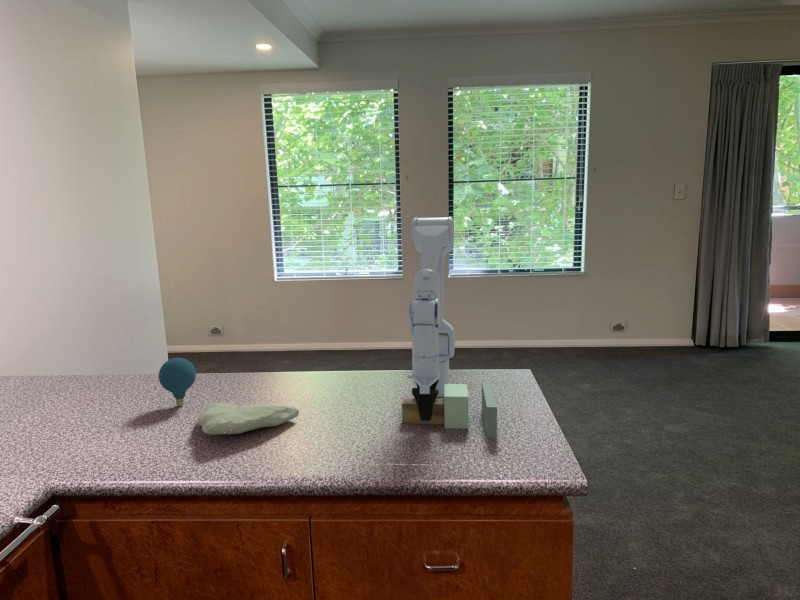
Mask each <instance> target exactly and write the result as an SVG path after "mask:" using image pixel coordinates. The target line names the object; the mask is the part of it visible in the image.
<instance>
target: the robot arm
mask: <svg viewBox="0 0 800 600" xmlns="http://www.w3.org/2000/svg"><path fill="white" fill-rule="evenodd" d="M454 222H455V221H454V219H453V217H452V216H448V217H414V218H413V219H412V222H411V238H412V242H413V245H414V247H415V250H416V252H417V253H420V270H419V271H418V272H417V273H416V274H415V275H414V284H413V293H412V301H410V302H409V305H408V321H409V327H410V328H409V330H410V333H409V334H410V335H411V351H412V352H411V354H412V355H411V356H412V357H411V358H412V360H411V361H412V364H411V366H412V372H407V379H412V380H413V381H414V383H415V385H416V387H412V388H411V393H412V397H413V398H415V400H416V403H417V406H418V410H419V415H420V419H421V421H431V417H432V411H433V405H434V402H435V399H436V398H444V384H451V383H450V358H453V357H454V355H455V346H456V345H455V344H456V343H455V341H456V340H455V333H454V332H455V329H454V326H453V325H451V324H450V323H449V322H448V321H446V320H445V319H444V262H445V259H446V255H447V254H449V253H450V252H452V251H453V248H454V242H455V241H454V236H455V229H454V228H455V225H454Z"/></svg>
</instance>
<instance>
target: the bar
mask: <svg viewBox="0 0 800 600" xmlns="http://www.w3.org/2000/svg"><path fill="white" fill-rule="evenodd" d="M401 412H402V413H401V417H402V421H401V422H402V424H403V425H445V411H444V397H436V399H435V402H434V405H433V411H432V417H431V421H421V419H420V415H419V410H418V406H417V403H416V400H415V398H414V397H403V399H402V403H401Z"/></svg>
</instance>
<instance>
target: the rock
mask: <svg viewBox="0 0 800 600" xmlns="http://www.w3.org/2000/svg"><path fill="white" fill-rule="evenodd" d="M299 414H300V411H299V409H297V408H296V407H295V406H287V405H270V404H269V405H267V404H261V403H255V404H246V405H236V404H231V403H226V402H215V403H212V404H209V405H207V406H206V407H205V408H204V409H203V411H202V412H201V413H200V415H199V416H198V417H197V421H198V422H197V424H198V425H199V426H200V427H201V430H202V432H204V433H205V434H207V435H227V436H231V435H237V434H243V433H245V432H249V431H253V430H256V429H261V428H271V427H272V428H273V427H277V426H281V425H283V424H285V423H286V422H289V421H291V420H293V419H295V418H297V417H298V416H299ZM231 430H232V431H231ZM224 432H225V433H224Z"/></svg>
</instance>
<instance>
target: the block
mask: <svg viewBox="0 0 800 600" xmlns="http://www.w3.org/2000/svg"><path fill="white" fill-rule="evenodd" d="M468 391H469V390H468V384H466V383H464V384H463V383H450V384H444V397H443V398H444V411H445V424H444V429H451V430H452V429H457V430H459V429H460V430H462V429H463V430H465V429H467V430H469V392H468Z"/></svg>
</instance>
